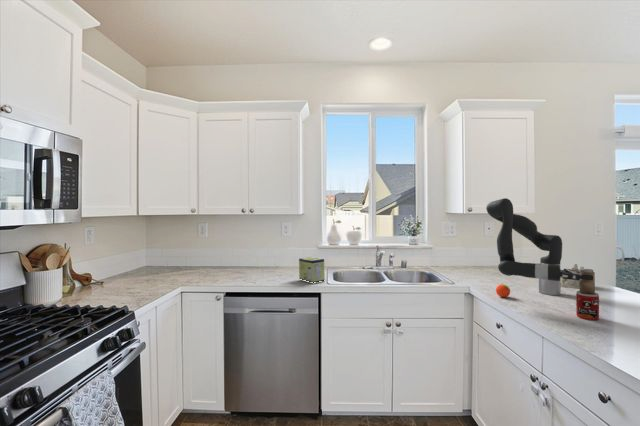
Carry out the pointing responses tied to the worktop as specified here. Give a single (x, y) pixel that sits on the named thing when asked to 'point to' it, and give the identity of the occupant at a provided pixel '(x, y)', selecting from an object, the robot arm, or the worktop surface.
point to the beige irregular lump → (569, 282)
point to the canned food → (587, 306)
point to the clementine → (503, 290)
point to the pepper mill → (587, 282)
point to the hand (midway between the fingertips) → (593, 276)
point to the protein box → (311, 269)
